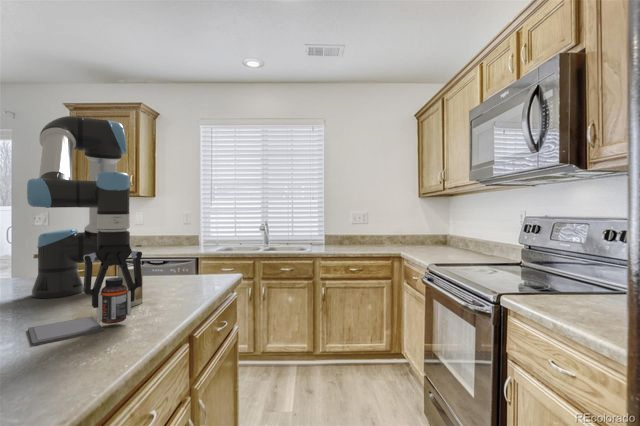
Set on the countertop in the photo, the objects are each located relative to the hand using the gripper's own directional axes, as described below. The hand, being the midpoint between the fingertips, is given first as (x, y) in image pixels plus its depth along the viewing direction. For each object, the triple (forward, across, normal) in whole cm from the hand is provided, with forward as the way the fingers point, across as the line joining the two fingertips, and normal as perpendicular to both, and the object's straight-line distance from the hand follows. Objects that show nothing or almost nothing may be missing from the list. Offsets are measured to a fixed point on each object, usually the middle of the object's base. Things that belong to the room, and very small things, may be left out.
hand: (113, 316), depth 93 cm
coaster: (+2, -10, +4) cm, 11 cm away
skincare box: (+3, +9, +19) cm, 21 cm away
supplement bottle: (+1, 0, 0) cm, 1 cm away
